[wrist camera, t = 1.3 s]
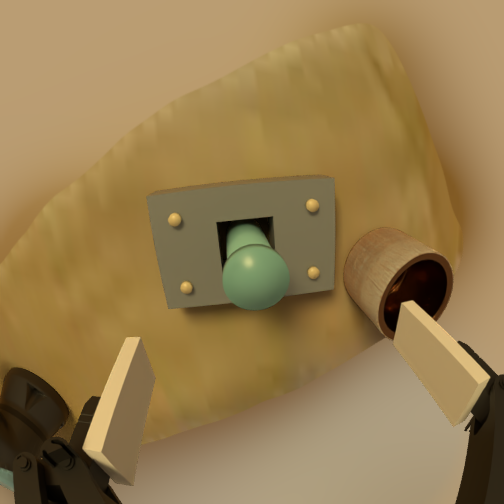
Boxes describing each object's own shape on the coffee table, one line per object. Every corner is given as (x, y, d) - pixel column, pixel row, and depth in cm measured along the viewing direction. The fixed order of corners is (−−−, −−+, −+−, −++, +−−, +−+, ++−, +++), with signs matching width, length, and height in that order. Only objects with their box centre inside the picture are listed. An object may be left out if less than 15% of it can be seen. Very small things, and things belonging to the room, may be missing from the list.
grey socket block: (173, 292, 33) (167, 311, 29) (155, 191, 29) (144, 197, 25) (322, 274, 34) (335, 291, 30) (321, 174, 30) (336, 178, 26)
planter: (395, 304, 37) (431, 341, 28) (331, 300, 36) (361, 343, 27) (419, 233, 34) (466, 258, 25) (354, 218, 32) (397, 243, 23)
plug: (225, 257, 32) (226, 313, 21) (220, 216, 31) (218, 253, 19) (267, 252, 32) (290, 305, 21) (264, 211, 31) (288, 245, 20)
